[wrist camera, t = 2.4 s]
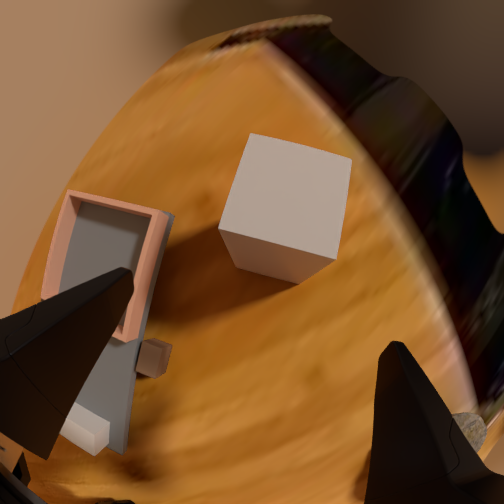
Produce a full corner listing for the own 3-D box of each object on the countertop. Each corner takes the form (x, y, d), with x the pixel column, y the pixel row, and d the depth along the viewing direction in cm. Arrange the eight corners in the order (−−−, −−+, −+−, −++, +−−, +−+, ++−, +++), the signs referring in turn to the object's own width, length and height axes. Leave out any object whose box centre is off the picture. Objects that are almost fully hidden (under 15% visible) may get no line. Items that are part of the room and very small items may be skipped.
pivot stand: (165, 372, 19) (155, 378, 17) (53, 317, 20) (37, 316, 18) (172, 345, 20) (162, 348, 17) (58, 294, 21) (42, 291, 18)
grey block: (299, 284, 20) (335, 259, 11) (236, 267, 21) (217, 228, 11) (313, 224, 22) (351, 159, 12) (253, 208, 22) (250, 133, 12)
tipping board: (126, 450, 17) (109, 469, 13) (54, 406, 18) (32, 417, 14) (174, 216, 19) (156, 202, 16) (87, 195, 20) (63, 182, 16)
